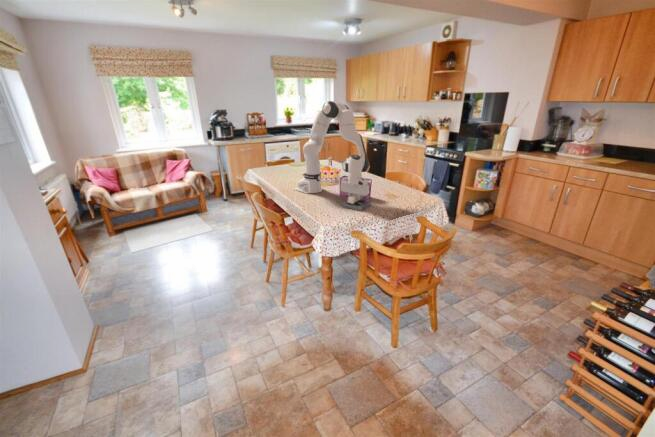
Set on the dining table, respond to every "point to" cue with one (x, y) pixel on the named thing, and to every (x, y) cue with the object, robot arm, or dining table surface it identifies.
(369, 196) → the gum box
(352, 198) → the beige block
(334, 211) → the dining table surface
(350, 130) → the robot arm
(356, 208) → the keyhole plate
